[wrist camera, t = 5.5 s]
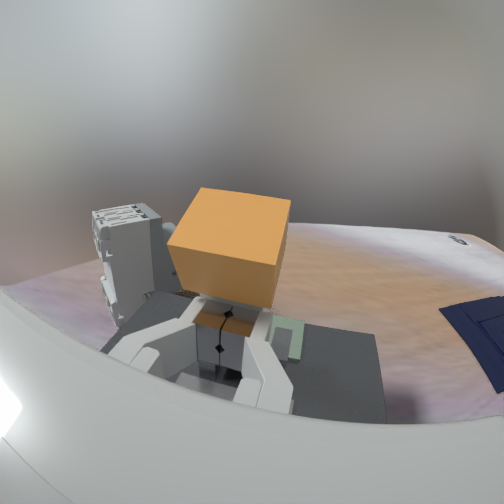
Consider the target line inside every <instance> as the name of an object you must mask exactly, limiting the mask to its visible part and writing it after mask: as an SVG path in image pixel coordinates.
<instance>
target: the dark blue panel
mask: <svg viewBox="0 0 504 504" xmlns="http://www.w3.org/2000/svg"><path fill="white" fill-rule="evenodd" d="M439 310H440V311H441V312H442V313H443V315H444V316H445V317H446V318H447V319H448V321H449V322H450V323H451V324H452V325H453V327H454V328H455V329H456V330H457V332H458V333H459V334H460V335H461V337H462V338H463V339H464V340H465V342H466V343H467V344H468V346H469V347H470V349H471V350H472V352H473V353H474V355H475V356H476V358H477V359H478V361H479V363H480V364H481V366H482V367H483V369H484V371H485V372H486V374H487V376H488V377H489V379H490V381H491V383H492V384H493V386H494V388H495V390H496V392H497V393H499V392H501V391H503V390H504V296H502V297H500V296H497V297H489V298H484V299H480V300H475V301H470V302H464V303H459V304H456V305H451V306H449V307H444V308H440V309H439Z"/></svg>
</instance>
